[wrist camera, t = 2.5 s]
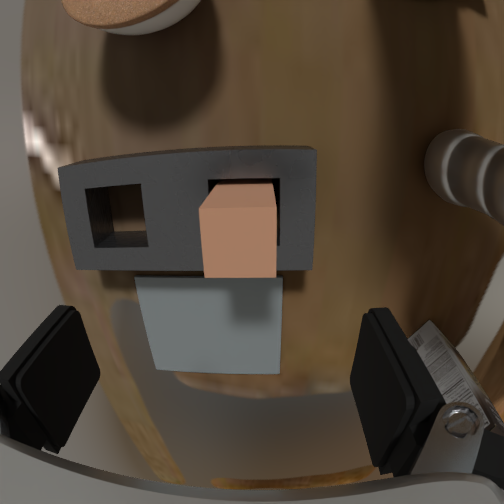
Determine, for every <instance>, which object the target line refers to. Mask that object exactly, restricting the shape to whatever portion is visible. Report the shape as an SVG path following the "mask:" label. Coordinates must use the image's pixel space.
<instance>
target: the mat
mask: <svg viewBox="0 0 504 504" xmlns="http://www.w3.org/2000/svg"><path fill="white" fill-rule="evenodd" d="M134 279H135V284H136V289H137V293H138V298H139V303H140V307H141V312H142V316H143V320H144V324H145V328H146V333H147V337H148V340H149V344H150V348H151V352H152V355H153V359H154V363H155V366H156V369H158V370H169V371H183V372H200V373H225V374H279V372H280V349H281V322H282V288H283V276H276V278H205V276H141V275H136V276H135V277H134Z"/></svg>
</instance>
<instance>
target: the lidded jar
mask: <svg viewBox="0 0 504 504" xmlns="http://www.w3.org/2000/svg"><path fill="white" fill-rule="evenodd" d="M61 1H62V4H63V7H64V9H65V10H66V12H67V13H68V15H69V16H70V17H72V18H73V19H74V20H76V21H78V22H80V23H82V24H84V25H86V26H90V27H93V28H97V29H99V30H102V31H106V32H109V33H114V34H120V35H143V34H149V33H153V32H156V31H160V30H162V29H165V28H167V27H170V26H172V25H173V24H175V23H177V22H179V21H180V20H182V19H183V18H184V17H186V16H187V15H188V14H189V13H190V12H192V11H193V9H194V8H195V7H196V6H197V5H198V4H199V2H200V1H201V0H61Z"/></svg>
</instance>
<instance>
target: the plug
mask: <svg viewBox="0 0 504 504" xmlns="http://www.w3.org/2000/svg"><path fill="white" fill-rule="evenodd" d="M199 219H200V232H201V244H202V255H203V266H204V276H205V278H276V247H277V206H276V200H275V195H274V189H273V183H272V178H238V179H220V180H219V182H218V183H217V184H216V186H215V187H214V188H213V190H212V191H211V192H210V194H209V195H208V197H207V198H206V199H205V201H204V202H203V203H202V205H201V206H200V208H199Z"/></svg>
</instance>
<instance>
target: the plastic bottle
mask: <svg viewBox="0 0 504 504" xmlns="http://www.w3.org/2000/svg"><path fill="white" fill-rule="evenodd" d="M424 170H425V176H426V179H427V182H428V184H429V186H430V187H431V188H432V190H433V191H434V192H435V193H436V194H437V195H438V196H439V197H441V198H442V199H443V200H444V201H446V202H448V203H451V204H455V205H459V206H463V207H469V208H472V209H474V210H477V211H479V212H482V213H484V214H487V215H488V216H490V217H491V218H493V219H495V220H496V221H497V222H499V223H500V224H502V225H503V226H504V145H503V144H500V143H497V142H494V141H491V140H488V139H485V138H483V137H481V136H480V135H478V134H475V133H473V132H470V131H467V130H465V129H453V130H447V131H444V132H442V133H440V134H438V135H437V136H436V137H435V138H434V139H433V140H432V141H431V143H430V144H429V146H428V148H427V151H426V154H425V159H424Z"/></svg>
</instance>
